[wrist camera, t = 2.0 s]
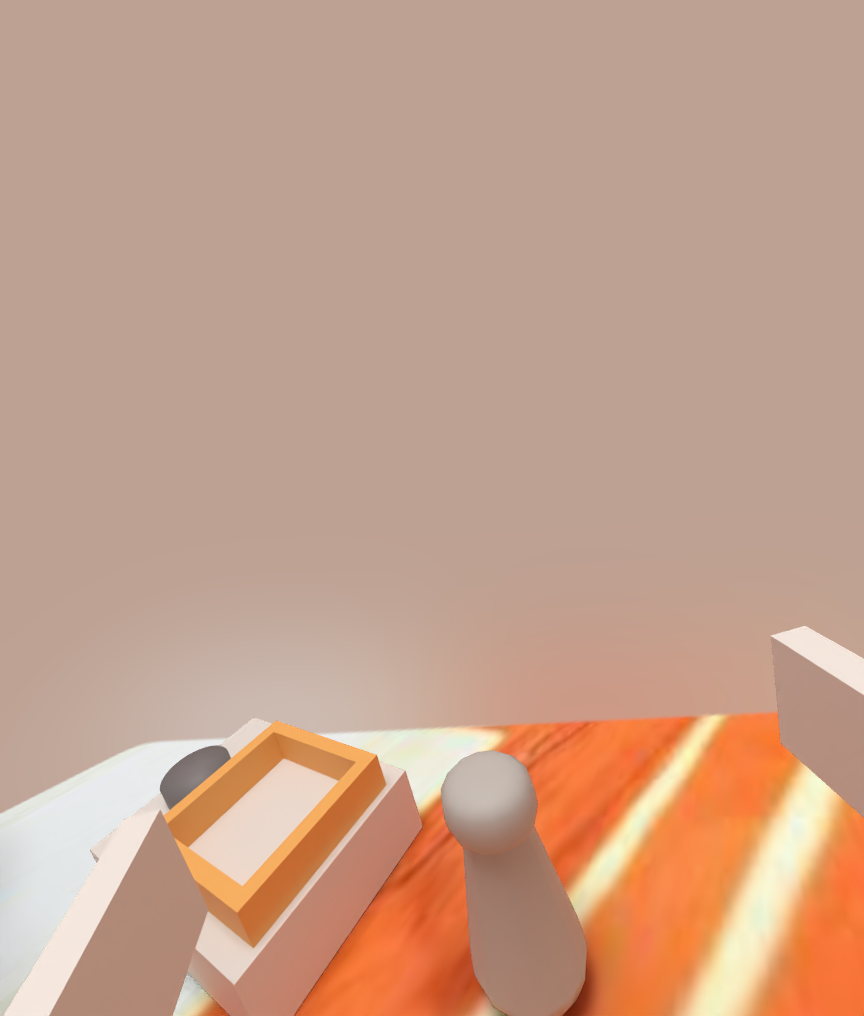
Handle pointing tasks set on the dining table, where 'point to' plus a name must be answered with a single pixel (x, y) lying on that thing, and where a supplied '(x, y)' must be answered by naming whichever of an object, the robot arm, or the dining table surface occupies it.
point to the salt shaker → (512, 890)
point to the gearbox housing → (281, 855)
